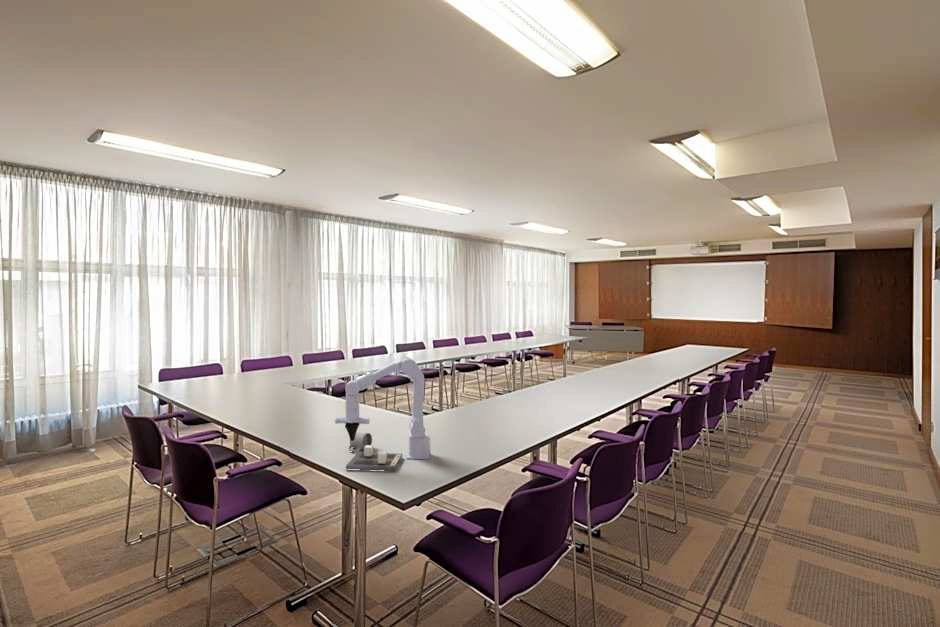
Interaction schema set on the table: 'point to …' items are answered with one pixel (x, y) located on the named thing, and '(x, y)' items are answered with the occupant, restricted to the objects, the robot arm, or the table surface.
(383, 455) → the switch tab
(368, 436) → the ceramic mug
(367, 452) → the switch tab
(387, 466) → the switch panel
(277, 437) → the table surface
